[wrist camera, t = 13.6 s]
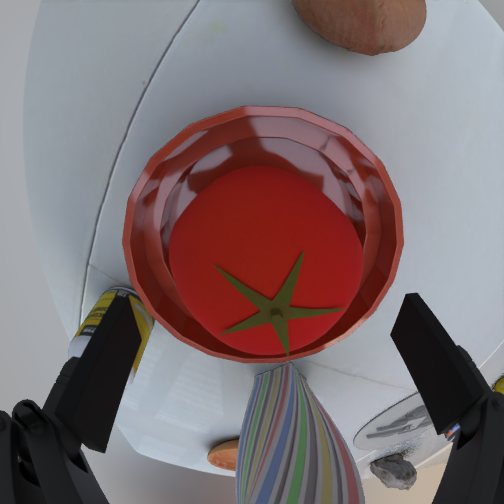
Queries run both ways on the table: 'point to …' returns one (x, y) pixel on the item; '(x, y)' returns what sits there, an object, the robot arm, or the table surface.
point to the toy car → (451, 431)
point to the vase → (292, 447)
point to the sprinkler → (500, 386)
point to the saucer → (224, 455)
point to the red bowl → (261, 154)
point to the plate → (395, 425)
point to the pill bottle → (95, 316)
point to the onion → (365, 22)
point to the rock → (395, 472)
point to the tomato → (265, 260)
